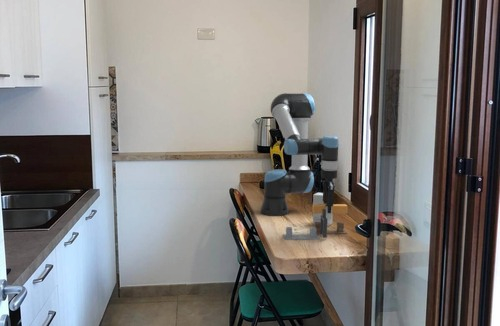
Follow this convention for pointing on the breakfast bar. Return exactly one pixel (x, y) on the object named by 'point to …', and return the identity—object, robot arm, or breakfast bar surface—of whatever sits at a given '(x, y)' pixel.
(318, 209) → the orange tapered block
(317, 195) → the skincare box
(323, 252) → the breakfast bar surface
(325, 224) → the grey gate frame
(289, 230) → the clip mount
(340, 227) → the rest
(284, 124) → the robot arm
